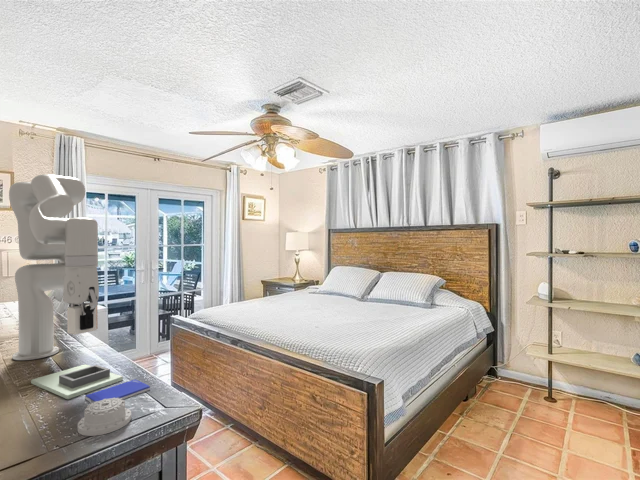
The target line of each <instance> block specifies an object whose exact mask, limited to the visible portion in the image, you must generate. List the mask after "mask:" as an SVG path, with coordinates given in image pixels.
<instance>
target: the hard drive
mask: <svg viewBox="0 0 640 480" xmlns="http://www.w3.org/2000/svg"><path fill="white" fill-rule="evenodd" d="M150 390H151V386H150V385H149V384H146V383H145V382H143V381H140V380H138V379H135V378H134V379H132V380H129V381H126V382H122V383H120V384H116V385H114V386H113V385H112V386H110V387H107V388H105V389H101V390H99V391H95V392H92V393H88V394H86V395H84V399H85V400H86V401H88V402H89V403H90V404H91V403H94V402H95V401H101V400H103V399H110V398H114V397H115V398H119V399H120V398H122V400H124V399H127V398H130V397H133V396H137V395H139V394H141V393H144V392H147V391H150Z"/></svg>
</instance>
